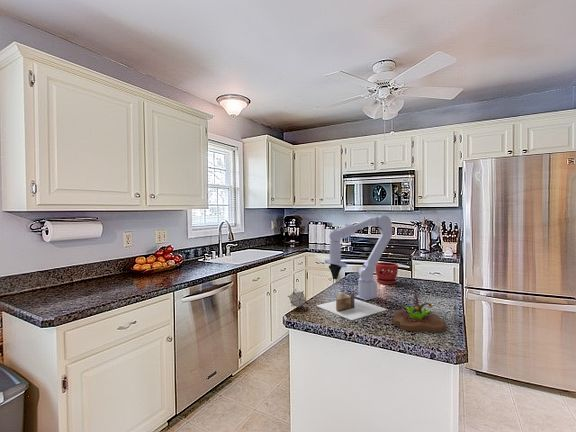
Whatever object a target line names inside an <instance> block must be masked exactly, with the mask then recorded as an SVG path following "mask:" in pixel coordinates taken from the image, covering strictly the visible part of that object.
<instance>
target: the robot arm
mask: <svg viewBox="0 0 576 432" xmlns="http://www.w3.org/2000/svg"><path fill="white" fill-rule="evenodd" d="M369 226H372V227H373V226H374V227H377V228H378V230H379V232H380V236H379V238H378V239H377V242H376V244H374V247H373V249H372V251H371V253H370V254H369V255H368V258H367V260H366V261H365V262H364V263H363V265H362V266H360V267H359V268H358V272H357V273H358V275H359V278H358V280H357V281H358V283H357V284H358V286H357V287H358V290H357V291H358V292H357V293H358V294H357V295H354V298H358V299H361V300H364V301H369V300H372V299H373V300H374V299H377V298H379V295H378V284H377V283H378V282H377V280H375V279H373V278H374V272H376V264H377V263H379V261H380V258H381V257H382V255H383V253H384V252H385V250H386V247H387V246H388V245H389V242H390V240H392V237H393V222H392V219H391V218H390V217H389V216H388V215H385V214H384V215H383V214H378V215H375V216H372V217H369V218H366V219H364V220H362V221H360V222H357V223H355V224H350V223H349V224H348V223H345V224H344V226H342V227H336V229H333V230H331V232H329V234H328V235H329V238H330V240H329V259H324V264H327V265H328V268H329V270H330V273H331V276H332V279H333V280H338V278H339V274H340V271H341V269H342V268H347V267H348V266H347V263H346V262H343V261H342V250H341V249H342V245H341V240H342V239H345V238H349V237H351V236H353V235H355V233H356V231H358V230H362V229H364V228H367V227H369Z"/></svg>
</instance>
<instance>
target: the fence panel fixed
mask: <svg viewBox="0 0 576 432" xmlns="http://www.w3.org/2000/svg"><path fill="white" fill-rule="evenodd" d="M349 296H350V297H351V308H354V299H355V293H350V295H349V294H345V293H344V292H339V291H338V292H337V299H339V298H344V297H349Z"/></svg>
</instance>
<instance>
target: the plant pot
mask: <svg viewBox="0 0 576 432" xmlns="http://www.w3.org/2000/svg"><path fill="white" fill-rule="evenodd" d="M398 269H399V266H398V263H394V262H385V261H384V262H383V261H381V262H379V261H378V262H377V264H376V266H375V274H376V277H377V278H376V282H377V283H379V284H383V285H393V284H396V283H397V280H396V278H397V275H398Z"/></svg>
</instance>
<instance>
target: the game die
mask: <svg viewBox="0 0 576 432" xmlns="http://www.w3.org/2000/svg"><path fill="white" fill-rule="evenodd" d="M287 297H288V298H289V300H290V304H291V307H297V308H298V310H300V309H301V306H303V304H305V303H307V302H309V301H308V300H306V299H307V298H306V297H305V294H304V290H302V291H299V290H297V288H295V289H294V291H292V293H291V294H290V295H287Z"/></svg>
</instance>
